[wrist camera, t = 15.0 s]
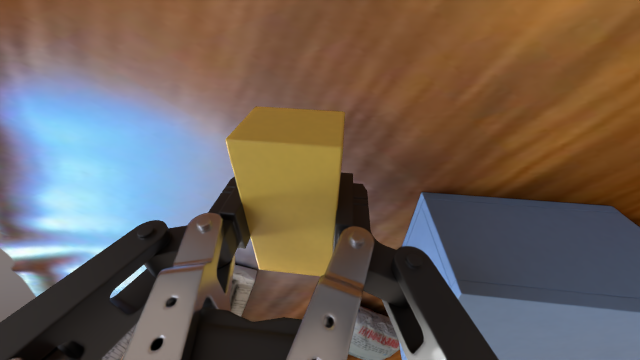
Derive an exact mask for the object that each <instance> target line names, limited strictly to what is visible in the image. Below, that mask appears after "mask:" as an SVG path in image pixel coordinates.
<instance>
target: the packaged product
mask: <svg viewBox="0 0 640 360" xmlns="http://www.w3.org/2000/svg"><path fill="white" fill-rule="evenodd" d="M256 273H257V270H254V269H250V268H246V267H242V266H238V265H235V266H234V273H233V279H232V286H231V293H230V306H231V312H232V313H234V314H236V315H238V316H240V317H241V316H242V313H243V310H244V308H245V306H246V303H247V301H248V298H249V295H250V292H251V290H252V288H253V285H254V283H255V279H256Z"/></svg>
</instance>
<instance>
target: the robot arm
mask: <svg viewBox="0 0 640 360" xmlns="http://www.w3.org/2000/svg"><path fill="white" fill-rule="evenodd" d="M250 237H251V235H250V232H249V228H248V224H247V220H246V216H245V212H244V208H243V204H242V202H241V198H240V195H239V191H238V187H237V183H236V179H235V177H233V178H232V179H231V180H230V181H229V183H228V184H227V186H226V187H225V189H224V190H223V191H222V193H221V194H220V196H219V197H218V199H217V200H216V202H215V203H214V205H213V206H212V208H211V209H210V211H209V212H208V213H204V214H201V215H199V216H197V217H195V218H194V219H192V220H191V221H190V223H189V224H188V225H187V226H181V227H175V228H168V227H167V225H166V224H165V223H164V222H163V221H159V220H154V221H149V222H146V223H143V224H141V225H139V226H137V227H136V228H134V229H133V230H132V231H130V232H129V233H127V234H126V235H125V236H123V237H122V238H120V239H119V240H117V241H116V242H115V243H113V244H112V245H110V246H109V247H107V248H106V249H105V250H103V251H102V252H100V253H99V254H97V255H96V256H95V257H93V258H92V259H90V260H89V261H87V262H86V263H85V264H83V265H82V266H80V267H79V268H77V269H76V270H75V271H73V272H72V273H70V274H69V275H67V276H66V277H65V278H63V279H62V280H60V281H59V282H57V283H56V284H55V285H53V286H52V287H50V288H49V289H47V290H46V291H45V292H43V293H42V294H40V295H39V296H37V297H36V298H35V299H33V300H32V301H30V302H29V303H28V304H26V305H25V306H23V307H22V308H20V309H19V310H17V311H16V312H15V313H13V314H12V315H11V316H9V317H7V318H6V319H5V320H3V321H2V322H0V360H101V359H102V358H103V357H104V356H105V355H106V354H107V353H108V352H109V351H110V350H111V349H112V348H113V347H114V346H115V345H116V344H117V343H118V342H119V341H120V340H121V339H122V338H123V337H124V336H125V335H126V334H127V333H128V332H129V331H130V330H131V329H132V328H133V327H134V326H135V325H136V324H137V325H136V328H135V330H134V333H133V335H132V337H131V340H130V342H129V344H128V347H127V349H126V351H125V354H124V356H123V359H122V360H347V357H348V353H349V348H350V344H351V340H352V336H353V332H354V328H355V324H356V319H357V315H358V311H359V307H360V303H361V299H362V294H363V291H365V292H367V293H369V294H371V295H374V296H376V297H378V298H380V299H382V301H383V304H384V306H385V309H386V311H387V313H388V316H389V318H390V320H391V323H392V325H393V327H394V330H395V332H396V335H397V337H398V339H399V342H400V344H401V346H402V349H403V351H404V353H405V356H406V358H407V360H499V359H498V358H497V356H496V355H495V353H494V352H493V350H492V349H491V347H490V346H489V344H488V343H487V341H486V340H485V338H484V337H483V335H482V334H481V333H480V331H479V330H478V328H477V327H476V325H475V324H474V322H473V321H472V319H471V318H470V316H469V315H468V313H467V312H466V310H465V309H464V307H463V306H462V305H461V303H460V302H459V300H458V299H457V297H456V296H455V294H454V293H453V291H452V290H451V288H450V287H449V285H448V284H447V282H446V281H445V279H444V278H443V277H442V275H441V274H440V272H439V271H438V269H437V268H436V266H435V265H434V263H433V262H432V260H431V259H430V257H429V256H428V255H427V254H426V253H425V252H423V251H422V250H420V249H418V248H416V247H412V246H403V247H400V248H399V249H398V250H395V249H392V248H389V247H387V246H385V245H382V244H381V243H379V242H378V241H377V240H376V239H375V238H374V237H373V235H372V233H371V230H370V220H369V208H368V196H367V190H366V189H365V187H364V186H363V184H356V183H353V173H341V176H340V186H339V197H338V208H337V211H336V221H335V232H334V243H333V254H332V257H331V259H330V262H329V264H328V267H327V269H326V272H325V274H324V275H322V276H321V277H320V279H319V281H318V283H317V286H316V288H315V291H314V293H313V296H312V298H311V300H310V303H309V305H308V308H307V310H306V313H305V315H304V317H303V320H301V319H293V318H285V317H283V318H277V319H271V320H264V321H258V322H251V321H249V320H247V319H245V318H243V317H240V316H238V315H236V314H234V313H232V312H231V306H230V293H231V286H232V279H233V273H234V266H235V255H234V254H235V252H236V250H237V248H246V246H247V244H248V241H249V239H250ZM142 265H145V266H146V268H147V269H146V270H145V271H144V272H143V273H142V274H140V275H139V276H138V277H137V278H136V279H135V280H133V281H132V282H131V283H130V284H129V285H128V286H126V287H125V288H124V289H123V290H122V291H121V292H120V293H118V294H117V295H116V296H114V297H112V298H110V295H111V293H112V292H113V290H114V289H115V288H116V287H117V286H119V285H120V284H121V283H122V282H123V281H125V280H126V279H127V278H128V277H129V276H131V275H132V274H133V273H134V272H135V271H136V270H138V269H139V268H140V267H141V266H142Z"/></svg>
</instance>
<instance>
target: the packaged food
mask: <svg viewBox="0 0 640 360" xmlns="http://www.w3.org/2000/svg"><path fill="white" fill-rule="evenodd" d="M398 350H400V344H399V339H398V337H397V335H396V332H395V330H394V327H393V325H392V323H391V320H390V318H389V317H386V316H384V315H381V314H378V313H375V312H374V311H373V310H370V309H367V308H364V307H361V306H360V307H359V311H358V315H357V319H356V324H355V328H354V332H353V336H352V340H351V344H350V348H349V353H348V354H350V355H352V356H355V357H357V358H360V359H363V360H383V359H385V358H387V357H390V356H392V354H394V353H395V352H397V351H398Z"/></svg>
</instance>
